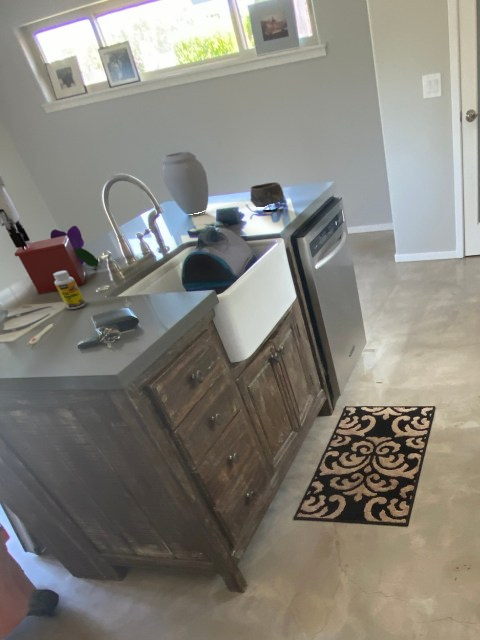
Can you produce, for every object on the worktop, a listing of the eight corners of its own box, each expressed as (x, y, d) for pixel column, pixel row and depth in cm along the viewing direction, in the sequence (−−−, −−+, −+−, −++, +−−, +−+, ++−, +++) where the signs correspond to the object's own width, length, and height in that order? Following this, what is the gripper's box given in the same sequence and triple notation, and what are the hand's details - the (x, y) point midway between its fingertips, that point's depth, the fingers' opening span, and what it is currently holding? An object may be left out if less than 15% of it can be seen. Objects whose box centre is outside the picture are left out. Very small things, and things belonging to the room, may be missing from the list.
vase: (223, 207, 255) (206, 148, 238) (207, 217, 240) (188, 155, 224) (187, 211, 258) (168, 152, 242) (169, 221, 244) (148, 160, 228)
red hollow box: (39, 294, 177) (18, 256, 169) (43, 283, 187) (24, 246, 179) (83, 284, 180) (64, 246, 172) (85, 274, 190) (68, 237, 182)
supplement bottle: (68, 311, 159) (50, 277, 152) (66, 307, 163) (49, 273, 156) (87, 306, 161) (70, 272, 154) (85, 301, 165) (68, 268, 158)
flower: (112, 275, 204) (81, 258, 204) (110, 238, 193) (78, 220, 192) (85, 288, 194) (53, 271, 194) (81, 250, 183) (47, 232, 183)
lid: (15, 256, 169) (6, 239, 166) (21, 247, 179) (13, 231, 175) (64, 246, 172) (56, 229, 169) (68, 237, 182) (60, 221, 178)
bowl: (286, 210, 232) (280, 185, 225) (252, 216, 231) (245, 190, 225) (286, 204, 242) (281, 179, 236) (254, 209, 242) (247, 185, 235)
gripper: (-17, 181, 167) (15, 241, 179) (-29, 189, 154) (7, 252, 166) (8, 177, 168) (38, 236, 180) (-2, 184, 156) (31, 247, 168)
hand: (23, 243), depth 173 cm, fingers open, 7 cm apart
